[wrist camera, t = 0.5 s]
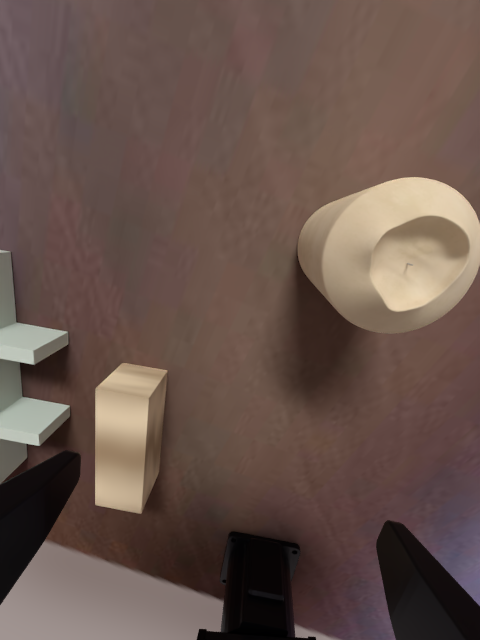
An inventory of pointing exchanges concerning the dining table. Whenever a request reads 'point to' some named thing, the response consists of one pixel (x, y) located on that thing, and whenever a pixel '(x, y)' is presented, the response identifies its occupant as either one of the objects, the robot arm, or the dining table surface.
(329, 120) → the dining table surface
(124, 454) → the tan wooden block
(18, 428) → the rail
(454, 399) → the dining table surface
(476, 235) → the candle
